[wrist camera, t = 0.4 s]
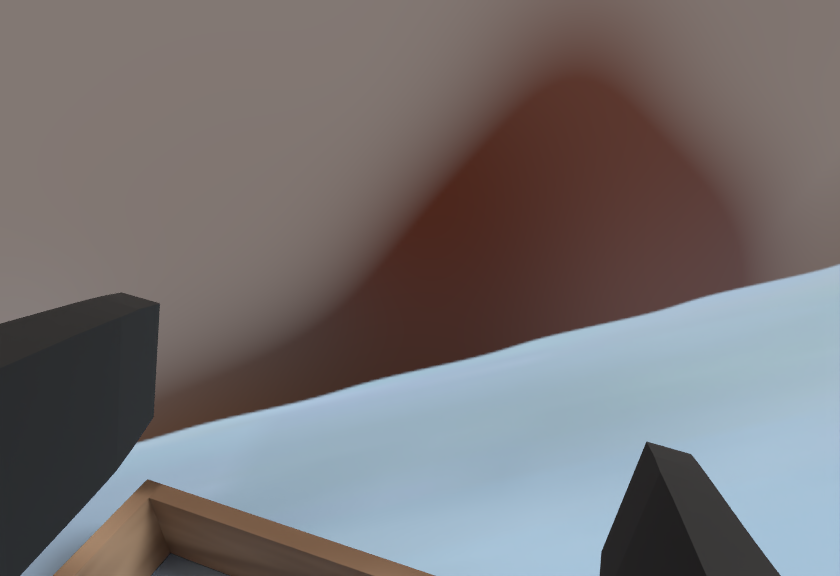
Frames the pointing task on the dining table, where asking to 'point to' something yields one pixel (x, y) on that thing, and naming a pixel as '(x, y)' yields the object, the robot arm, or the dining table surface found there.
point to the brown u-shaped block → (213, 542)
